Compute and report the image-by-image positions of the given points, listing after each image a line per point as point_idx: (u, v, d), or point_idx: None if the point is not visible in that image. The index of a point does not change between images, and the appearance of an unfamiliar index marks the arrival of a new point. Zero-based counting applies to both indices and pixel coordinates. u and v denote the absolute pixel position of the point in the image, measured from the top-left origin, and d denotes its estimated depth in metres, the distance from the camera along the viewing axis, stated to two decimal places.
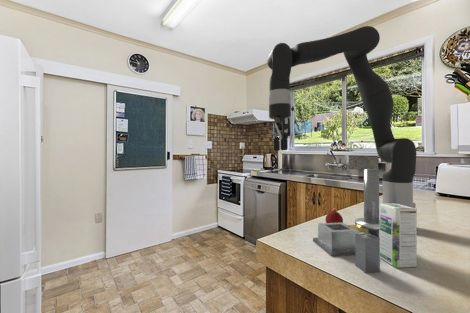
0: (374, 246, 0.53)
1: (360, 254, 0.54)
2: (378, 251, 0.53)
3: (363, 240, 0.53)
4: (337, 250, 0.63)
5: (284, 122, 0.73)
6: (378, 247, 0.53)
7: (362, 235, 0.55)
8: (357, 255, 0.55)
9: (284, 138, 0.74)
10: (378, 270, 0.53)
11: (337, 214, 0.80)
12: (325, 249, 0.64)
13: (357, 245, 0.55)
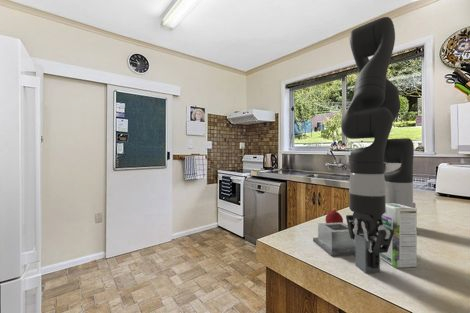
0: None
1: (360, 254, 0.54)
2: None
3: (362, 240, 0.53)
4: (337, 250, 0.63)
5: (384, 238, 0.48)
6: None
7: (362, 235, 0.55)
8: (357, 255, 0.55)
9: (376, 253, 0.51)
10: (378, 270, 0.53)
11: (337, 214, 0.80)
12: (325, 249, 0.64)
13: (357, 245, 0.55)
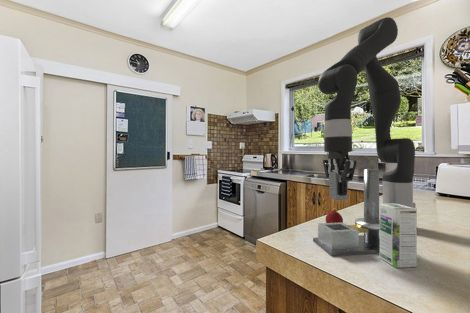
0: None
1: (332, 186, 0.67)
2: None
3: (334, 174, 0.66)
4: (337, 250, 0.63)
5: (349, 167, 0.61)
6: None
7: (334, 171, 0.67)
8: (330, 188, 0.68)
9: (344, 182, 0.64)
10: (346, 198, 0.65)
11: (337, 214, 0.80)
12: (325, 249, 0.64)
13: (330, 180, 0.68)
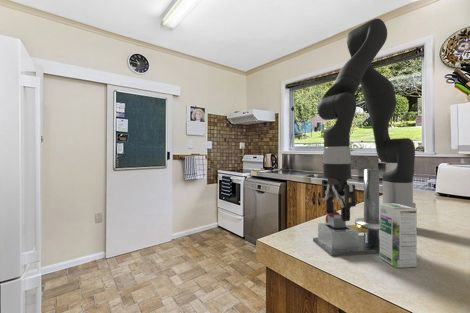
0: (341, 224, 0.66)
1: None
2: (344, 228, 0.66)
3: (332, 219, 0.67)
4: (337, 250, 0.63)
5: (348, 190, 0.60)
6: (344, 225, 0.66)
7: (332, 216, 0.68)
8: None
9: (347, 208, 0.62)
10: None
11: (337, 214, 0.80)
12: (325, 249, 0.64)
13: (329, 224, 0.69)
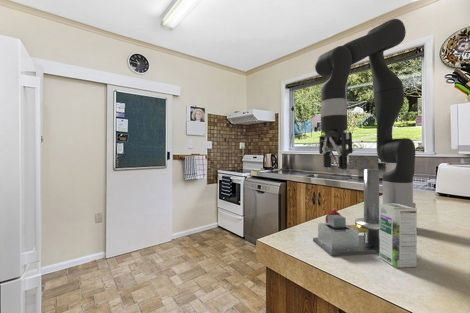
0: (341, 224, 0.66)
1: None
2: (344, 228, 0.66)
3: (332, 219, 0.67)
4: (337, 250, 0.63)
5: (345, 137, 0.63)
6: (344, 225, 0.66)
7: (332, 216, 0.68)
8: None
9: (344, 155, 0.64)
10: None
11: (337, 214, 0.80)
12: (325, 249, 0.64)
13: (329, 224, 0.69)
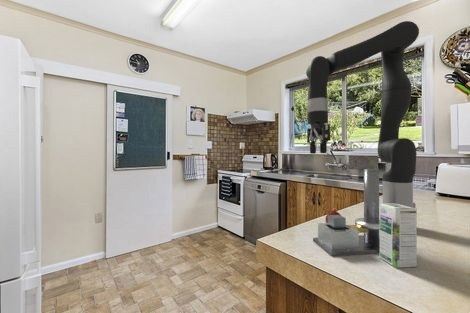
0: (341, 224, 0.66)
1: None
2: (344, 228, 0.66)
3: (332, 219, 0.67)
4: (337, 250, 0.63)
5: (325, 128, 0.81)
6: (344, 225, 0.66)
7: (332, 216, 0.68)
8: None
9: (324, 142, 0.82)
10: None
11: (337, 214, 0.80)
12: (325, 249, 0.64)
13: (329, 224, 0.69)
